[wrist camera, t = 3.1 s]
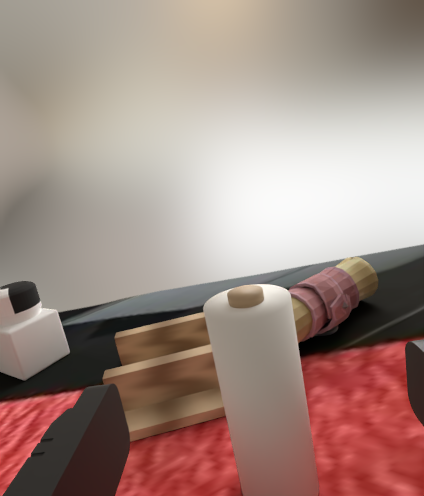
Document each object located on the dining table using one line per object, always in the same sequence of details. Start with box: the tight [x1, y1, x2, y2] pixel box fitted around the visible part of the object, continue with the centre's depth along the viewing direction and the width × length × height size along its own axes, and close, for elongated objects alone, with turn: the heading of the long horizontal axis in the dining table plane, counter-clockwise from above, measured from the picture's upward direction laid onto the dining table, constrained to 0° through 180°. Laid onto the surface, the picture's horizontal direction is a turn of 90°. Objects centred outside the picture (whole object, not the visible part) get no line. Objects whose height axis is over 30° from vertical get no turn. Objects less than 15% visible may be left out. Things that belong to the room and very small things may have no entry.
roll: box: [203, 284, 319, 496], centre depth 22 cm, size 5×5×15 cm
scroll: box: [288, 257, 378, 343], centre depth 43 cm, size 8×8×20 cm
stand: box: [103, 312, 226, 442], centre depth 38 cm, size 12×16×5 cm
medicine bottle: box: [0, 281, 70, 381], centre depth 48 cm, size 7×7×12 cm
